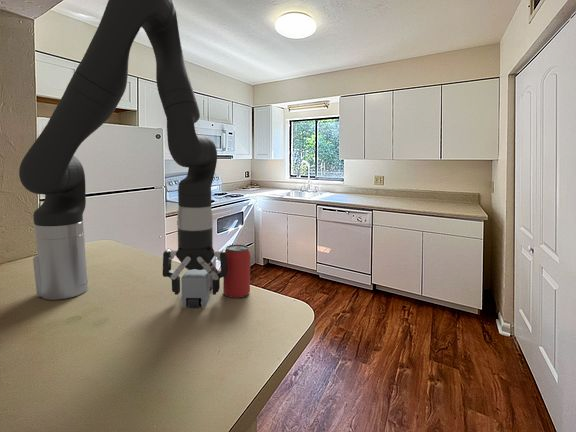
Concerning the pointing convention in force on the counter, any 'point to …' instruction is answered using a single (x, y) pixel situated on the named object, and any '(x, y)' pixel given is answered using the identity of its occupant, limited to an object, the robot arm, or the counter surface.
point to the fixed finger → (210, 275)
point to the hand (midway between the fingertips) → (196, 293)
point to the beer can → (237, 271)
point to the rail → (194, 302)
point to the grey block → (195, 286)
